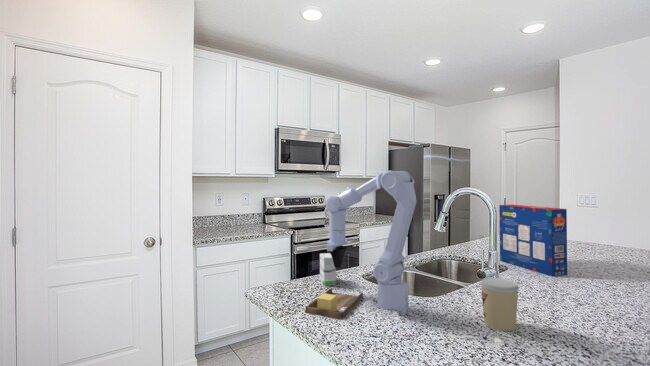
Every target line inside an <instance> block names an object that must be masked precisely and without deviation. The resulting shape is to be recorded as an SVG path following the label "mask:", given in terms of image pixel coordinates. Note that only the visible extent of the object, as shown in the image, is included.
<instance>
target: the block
mask: <svg viewBox="0 0 650 366" xmlns="http://www.w3.org/2000/svg"><path fill="white" fill-rule="evenodd" d="M316 299H317V308H318V309H323V310H329V311H336V310H337V295H332V294H326V293H325V292H324V293H322V294H321V295H319V296H318V297H317V298H316Z"/></svg>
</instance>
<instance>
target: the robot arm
mask: <svg viewBox="0 0 650 366" xmlns="http://www.w3.org/2000/svg"><path fill="white" fill-rule="evenodd" d="M414 185H415V179H414V178H413V177H412V175H411V174H410V173H409V172H408V171H406V170H391V169H390V170H386V171H384V172H381V173H379V174H378V175H377V176H374V177H372V179H370V180H368V181H366V182H365V183H363V184H362V185H360V186H359V187H357V186H348V187H346V190H344V191H342V192H338V193H337V195H335V196H334V195H331V196H329V197H328V198H327V200H326V202H325V207H326V210H327V212H328V213H329V214H328V215H329V216H328V218H329V223H328V225H329V240H327V241H326V244H327V245H326V251H327V252H328V253H330V254H331V256H332V259H333V263H334V267H336V269H337V268H338V269H340V268H342V264H343V260H344V256H345V253H346V251H347V250H348V249H347V248H348V247H347V246H345V245H347V244H348V238H346V215H347V210H348V208H350V207H353V206H354V205H356V204H358V203H360V202H361V201H362V200H363V197H364V196H366V195H369V194H370V193H373V192H375V191H377V190H380V189H383V190H384V191H386V192H387V193H388V194H389V195H390V196H391V197H392V198H393V199H394V201H395V202H396V207H395V210H394V215H393V218H392V222H391V226H390V229H389V233H388V236H387V237H388V238H387V241H386V245H385V248H384V250H383V252H382V253H381V255H380V256H379V258H378V261H377V263H375V265H374V267H373V270H372V271H373V272H372V273H373V276H374V277H375V279H376V282H377V306H378V307H379V308H381V309H384V310H389V311H391V310H392V311H393V310H394V311H398V313H397V315H398V316H403V317H404V316H405V315H406V314H407V312H408V310H409V308H410V305H409V303H410V301H409V298H410V297H409V284H408V282H404V281H402V277H401V276H403V274H404V271H405V257H404V255H403V251H404V248H405V244H406V241H407V238H408V234H409V230H410V226H411V223H412V220H413V216H414V212H415V209H416V205H417V195H416V191H415V186H414Z"/></svg>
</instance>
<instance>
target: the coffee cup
mask: <svg viewBox="0 0 650 366" xmlns="http://www.w3.org/2000/svg"><path fill="white" fill-rule="evenodd" d="M480 287H481V300H482V310H483V311H482V312H483V321H484V325H486V326H487V327H489V328H491V329H493V330H497V331H501V332H502V331H503V332H511V331H514V330H515V329H516V327H517V326H516V324H517V316H518V315H517V312H518V299H519V297H518V295H519V290H520V287H519V286H518V284H517V282H515V281H513V280H511V279H507V278H501V277H485V278H482V280H481V281H480Z"/></svg>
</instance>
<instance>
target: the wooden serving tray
mask: <svg viewBox="0 0 650 366" xmlns="http://www.w3.org/2000/svg"><path fill="white" fill-rule="evenodd" d="M324 293H326V294H332V295H337V310H336V311H329V310H323V309H318V308H317V298H316V299H314V300H313V301H312V302H310V303H309V304H308V305H306V306H305V309H304V310H305V313H307V314H313V315H318V316H325V317H328V318H336V319H338V320H339V319H340V320H343V319H344V317H346V316H347V315H348V313H350V311H352V309H353V308H354V307H355V306H356V305H357V304H358V303H359V302H360V301H361V300H362V298H364V292H361V293H360V294H359V295H351V294H345V293H339V292H338V293H337V292H333V288H331V287H330V288H329V289H328V290H326V291H325V292H324ZM342 308H345V309H343V311H340V309H342Z"/></svg>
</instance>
